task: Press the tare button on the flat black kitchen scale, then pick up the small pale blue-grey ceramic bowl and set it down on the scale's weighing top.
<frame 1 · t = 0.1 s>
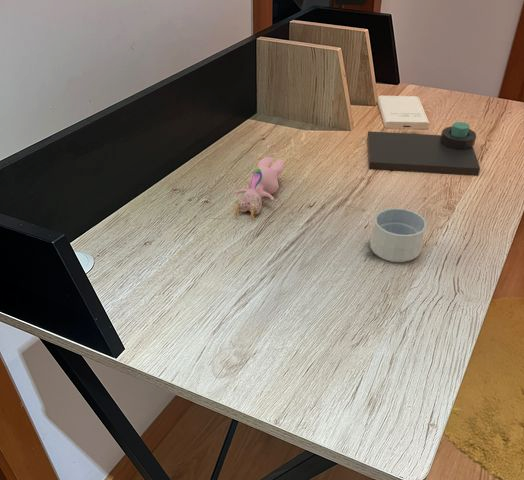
hard drive: (401, 117, 112), on the table
bowl: (394, 249, 79), on the table
pink soft elongated toy: (260, 197, 89), on the table
tare button: (460, 130, 99), point 4 cm above the table, slide at 0.2 cm
scale: (419, 156, 99), on the table
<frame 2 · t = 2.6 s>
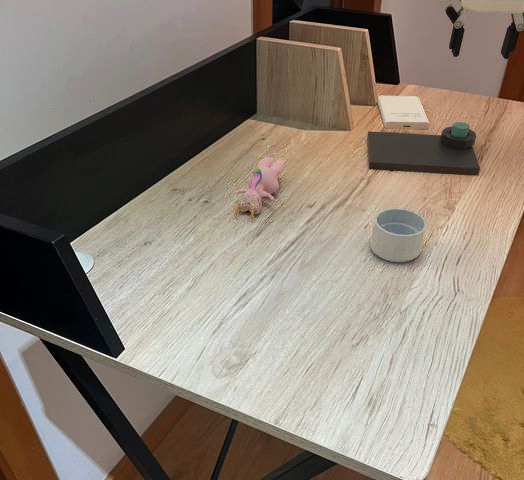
hand: (479, 54, 90), 16 cm above the table, tool pointing down, fingers open, 7 cm apart
nothing on the table moved.
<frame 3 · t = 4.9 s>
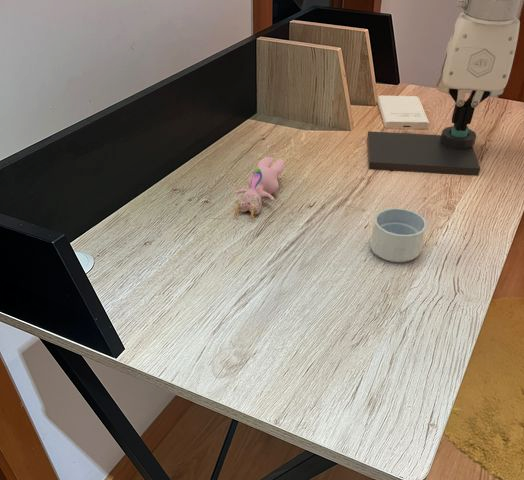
hand: (459, 127, 99), 4 cm above the table, tool pointing down, fingers closed
tare button: (459, 132, 99), point 3 cm above the table, slide at -0.3 cm, touching gripper
everything else where it was.
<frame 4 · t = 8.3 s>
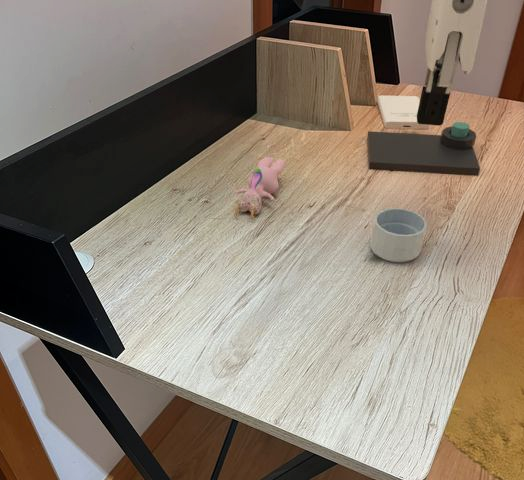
hand: (429, 121, 72), 16 cm above the table, tool pointing down, fingers closed
tare button: (460, 130, 99), point 4 cm above the table, slide at 0.2 cm
everything else where it was.
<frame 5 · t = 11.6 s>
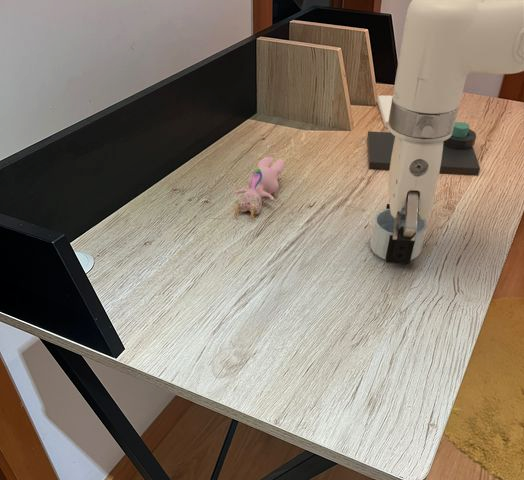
hand: (395, 244, 79), 1 cm above the table, tool pointing down, fingers closed on bowl, 7 cm apart
bowl: (394, 249, 79), on the table, touching gripper
everything else where it was.
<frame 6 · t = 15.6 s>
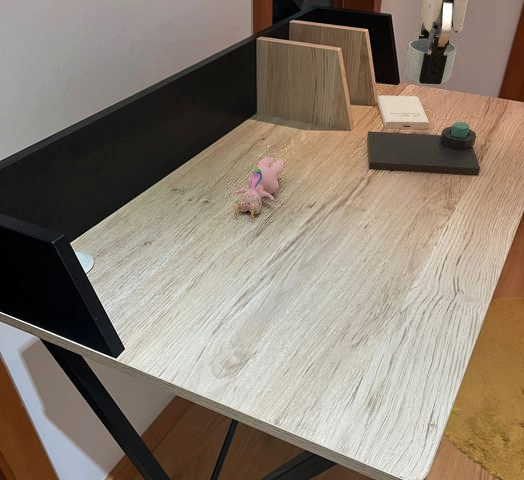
hand: (427, 72, 86), 15 cm above the table, tool pointing down, fingers closed on bowl, 7 cm apart
bowl: (425, 78, 86), point 14 cm above the table, touching gripper
everything else where it was.
when the fingers open (2 cm above the table, at t = 19.4 s): bowl stays where it is, resting on scale.
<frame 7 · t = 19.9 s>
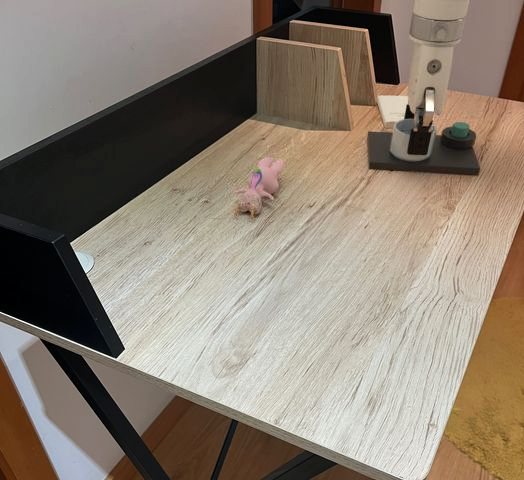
hand: (414, 140, 95), 4 cm above the table, tool pointing down, fingers open, 9 cm apart
bowl: (409, 153, 97), point 1 cm above the table, touching scale
everything else where it was.
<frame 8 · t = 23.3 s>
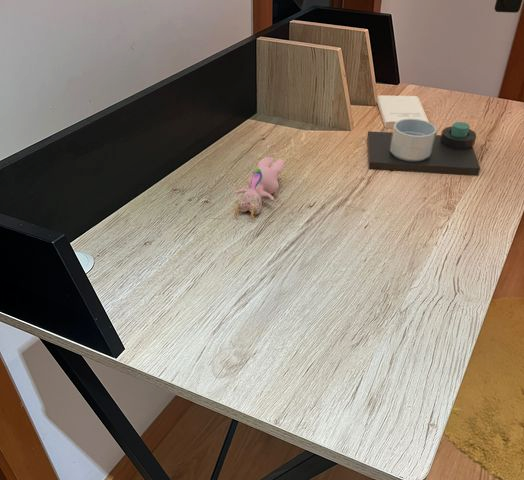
hand: (499, 2, 80), 24 cm above the table, tool pointing down, fingers open, 9 cm apart
nothing on the table moved.
at the end: tare button pushed in 0.9 cm at the most during the clip, back to 0.2 cm at the end; tare button slide at 0.2 cm; bowl inside the target area on the scale (0.8 cm from its centre), point 1.4 cm above the scale's base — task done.
